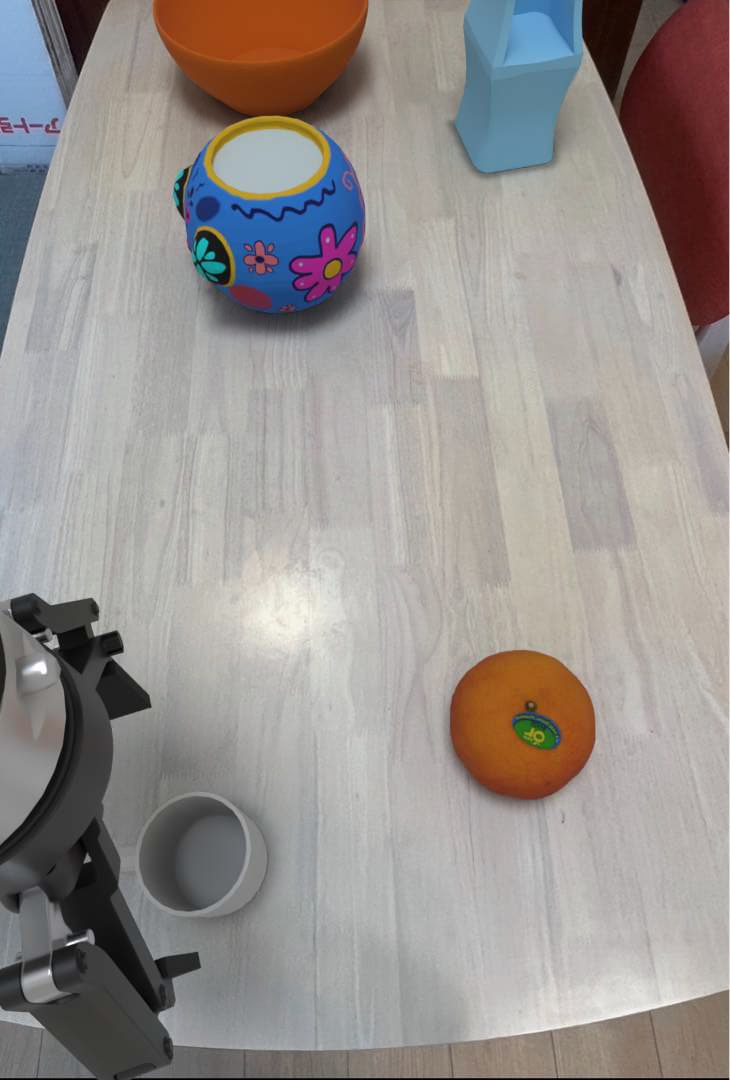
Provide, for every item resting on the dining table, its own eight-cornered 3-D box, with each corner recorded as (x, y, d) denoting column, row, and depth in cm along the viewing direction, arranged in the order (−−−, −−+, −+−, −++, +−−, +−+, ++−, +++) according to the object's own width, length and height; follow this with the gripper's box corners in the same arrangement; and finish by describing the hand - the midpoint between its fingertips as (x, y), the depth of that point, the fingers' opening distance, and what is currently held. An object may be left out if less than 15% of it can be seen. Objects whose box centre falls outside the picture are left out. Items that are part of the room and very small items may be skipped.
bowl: (387, 38, 100) (389, -48, 91) (342, 160, 89) (339, 76, 80) (209, 16, 103) (193, -70, 94) (144, 131, 92) (119, 47, 83)
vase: (477, 175, 88) (512, -78, 66) (453, 123, 92) (478, -131, 70) (557, 161, 89) (618, -93, 66) (529, 110, 93) (578, -145, 71)
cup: (267, 915, 53) (249, 914, 45) (126, 921, 53) (82, 921, 45) (270, 807, 56) (252, 788, 48) (136, 813, 56) (97, 795, 48)
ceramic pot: (185, 245, 83) (149, 116, 70) (339, 209, 86) (332, 77, 72) (222, 363, 76) (189, 243, 62) (388, 320, 78) (391, 195, 65)
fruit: (449, 662, 61) (458, 628, 54) (577, 674, 61) (604, 642, 54) (441, 798, 56) (451, 781, 49) (581, 813, 56) (611, 797, 49)
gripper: (153, 1251, 16) (275, 1074, 35) (28, 376, 27) (172, 602, 46) (-215, 1398, 15) (115, 1135, 34) (-190, 430, 26) (49, 638, 45)
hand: (148, 829), depth 40 cm, fingers open, 13 cm apart
